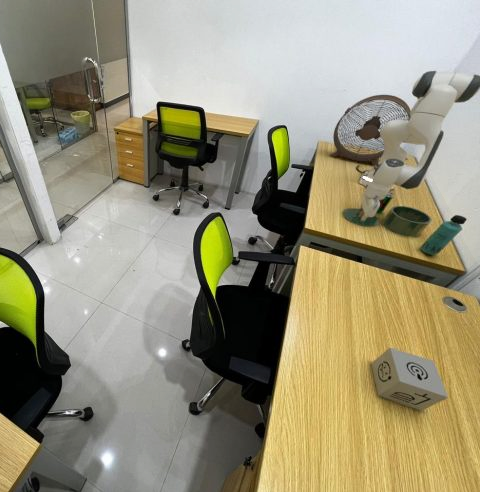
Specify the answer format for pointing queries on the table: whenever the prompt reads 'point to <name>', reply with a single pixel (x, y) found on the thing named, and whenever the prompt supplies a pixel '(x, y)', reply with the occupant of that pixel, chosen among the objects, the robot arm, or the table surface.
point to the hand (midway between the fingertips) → (361, 215)
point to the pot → (406, 221)
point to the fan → (367, 128)
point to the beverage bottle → (443, 235)
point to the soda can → (384, 202)
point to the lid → (359, 217)
